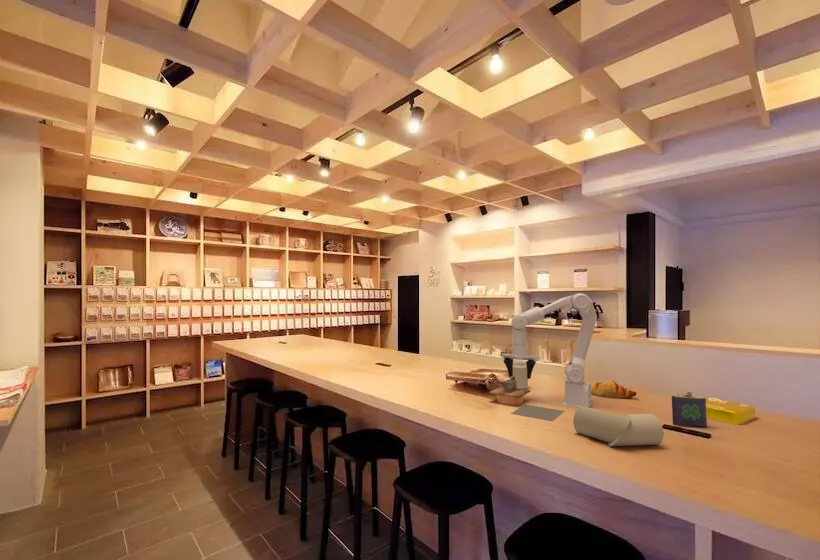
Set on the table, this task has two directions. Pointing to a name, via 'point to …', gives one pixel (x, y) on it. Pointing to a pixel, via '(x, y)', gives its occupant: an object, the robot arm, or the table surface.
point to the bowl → (509, 400)
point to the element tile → (729, 411)
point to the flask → (689, 410)
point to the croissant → (611, 390)
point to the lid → (509, 390)
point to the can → (520, 375)
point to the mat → (538, 412)
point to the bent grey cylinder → (618, 427)
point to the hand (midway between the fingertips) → (519, 377)
